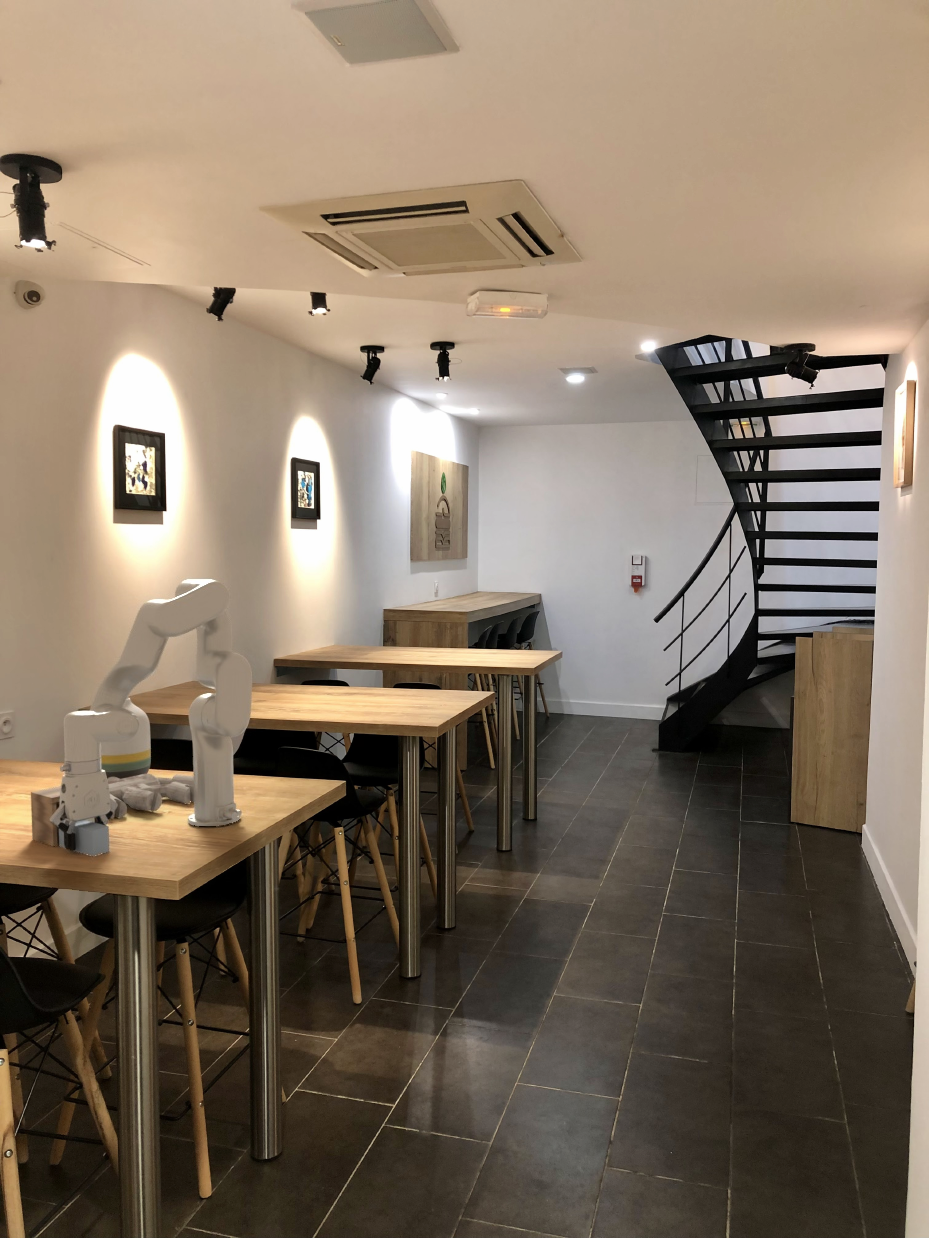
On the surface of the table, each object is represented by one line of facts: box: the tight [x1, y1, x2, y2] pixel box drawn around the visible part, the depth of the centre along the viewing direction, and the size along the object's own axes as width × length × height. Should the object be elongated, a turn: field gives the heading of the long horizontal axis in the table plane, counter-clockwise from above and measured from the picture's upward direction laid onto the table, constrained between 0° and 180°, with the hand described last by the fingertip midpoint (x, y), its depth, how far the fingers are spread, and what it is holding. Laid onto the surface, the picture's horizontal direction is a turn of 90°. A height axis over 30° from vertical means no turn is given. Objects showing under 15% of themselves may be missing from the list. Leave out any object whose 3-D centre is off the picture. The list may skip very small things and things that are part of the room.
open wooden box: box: [30, 785, 97, 847], centre depth 217 cm, size 9×12×11 cm
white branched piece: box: [107, 772, 194, 820], centre depth 250 cm, size 31×7×30 cm
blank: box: [58, 820, 110, 857], centre depth 208 cm, size 13×4×6 cm, turn 55°
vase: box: [101, 697, 152, 779], centre depth 274 cm, size 17×17×24 cm
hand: (85, 844), depth 208 cm, fingers open, 6 cm apart
